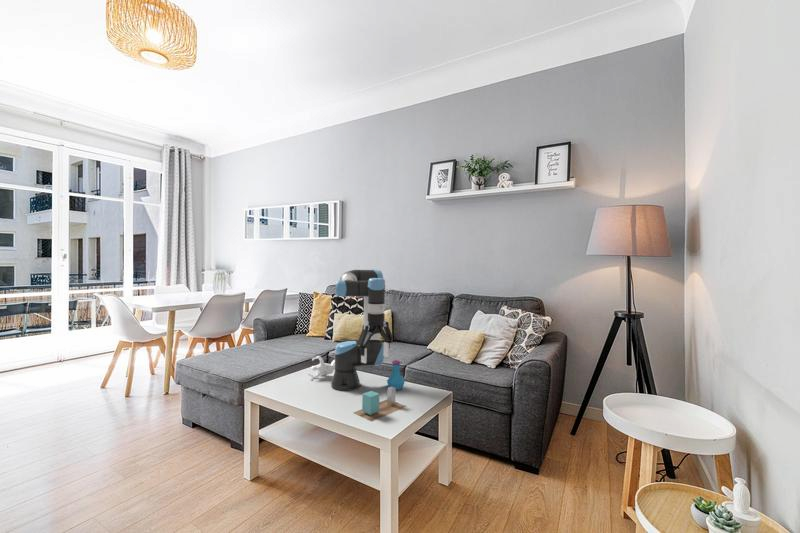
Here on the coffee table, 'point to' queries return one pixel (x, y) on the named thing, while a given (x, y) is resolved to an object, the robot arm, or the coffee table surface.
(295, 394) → the coffee table surface
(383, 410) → the board
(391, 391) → the post
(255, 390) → the coffee table surface
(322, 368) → the white branched piece
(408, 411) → the coffee table surface
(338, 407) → the coffee table surface
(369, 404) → the teal rectangular prism
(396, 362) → the perfume bottle
